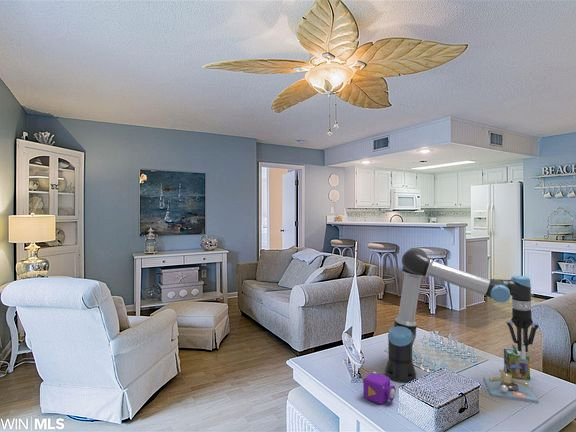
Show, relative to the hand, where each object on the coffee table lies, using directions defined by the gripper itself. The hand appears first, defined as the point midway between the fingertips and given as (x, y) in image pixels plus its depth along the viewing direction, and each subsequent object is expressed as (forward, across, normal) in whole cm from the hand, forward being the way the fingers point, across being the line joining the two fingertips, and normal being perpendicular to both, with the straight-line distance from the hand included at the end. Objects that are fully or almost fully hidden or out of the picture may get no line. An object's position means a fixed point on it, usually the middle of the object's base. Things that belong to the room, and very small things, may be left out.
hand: (522, 358), depth 160 cm
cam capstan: (+12, -8, -5) cm, 16 cm away
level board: (+13, -8, -6) cm, 16 cm away
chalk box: (+14, 0, +13) cm, 19 cm away
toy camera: (+13, -64, -33) cm, 73 cm away
